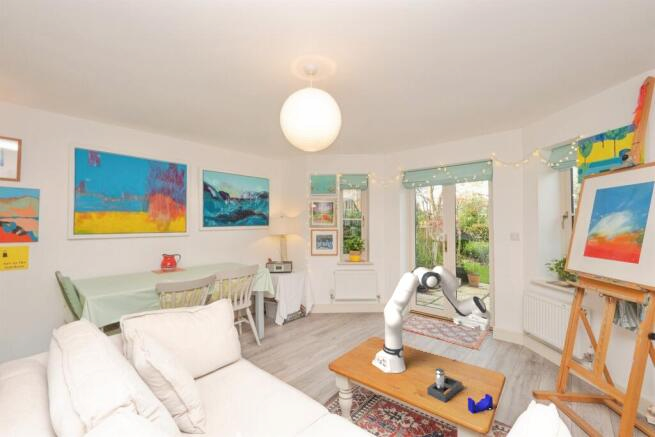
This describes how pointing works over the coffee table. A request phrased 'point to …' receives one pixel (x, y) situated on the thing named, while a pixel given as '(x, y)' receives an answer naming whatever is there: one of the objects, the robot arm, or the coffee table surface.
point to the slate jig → (449, 389)
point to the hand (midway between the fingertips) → (465, 326)
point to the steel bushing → (440, 379)
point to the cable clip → (480, 404)
